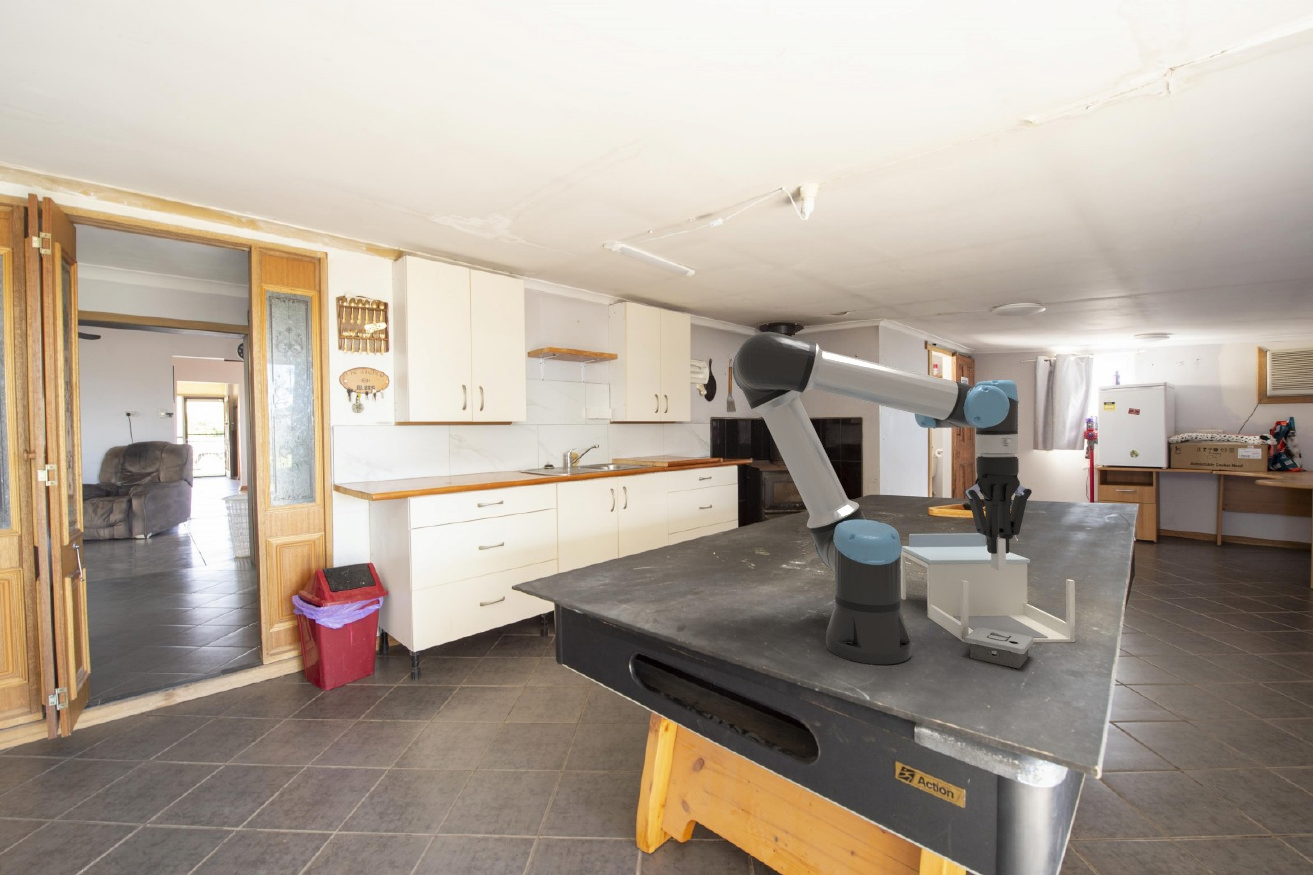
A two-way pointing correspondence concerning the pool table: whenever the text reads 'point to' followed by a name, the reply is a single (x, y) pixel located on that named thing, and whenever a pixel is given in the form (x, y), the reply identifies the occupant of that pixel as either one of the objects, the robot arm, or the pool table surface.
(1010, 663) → the gray toolbox
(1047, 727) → the pool table surface
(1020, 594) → the housing
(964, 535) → the lid
